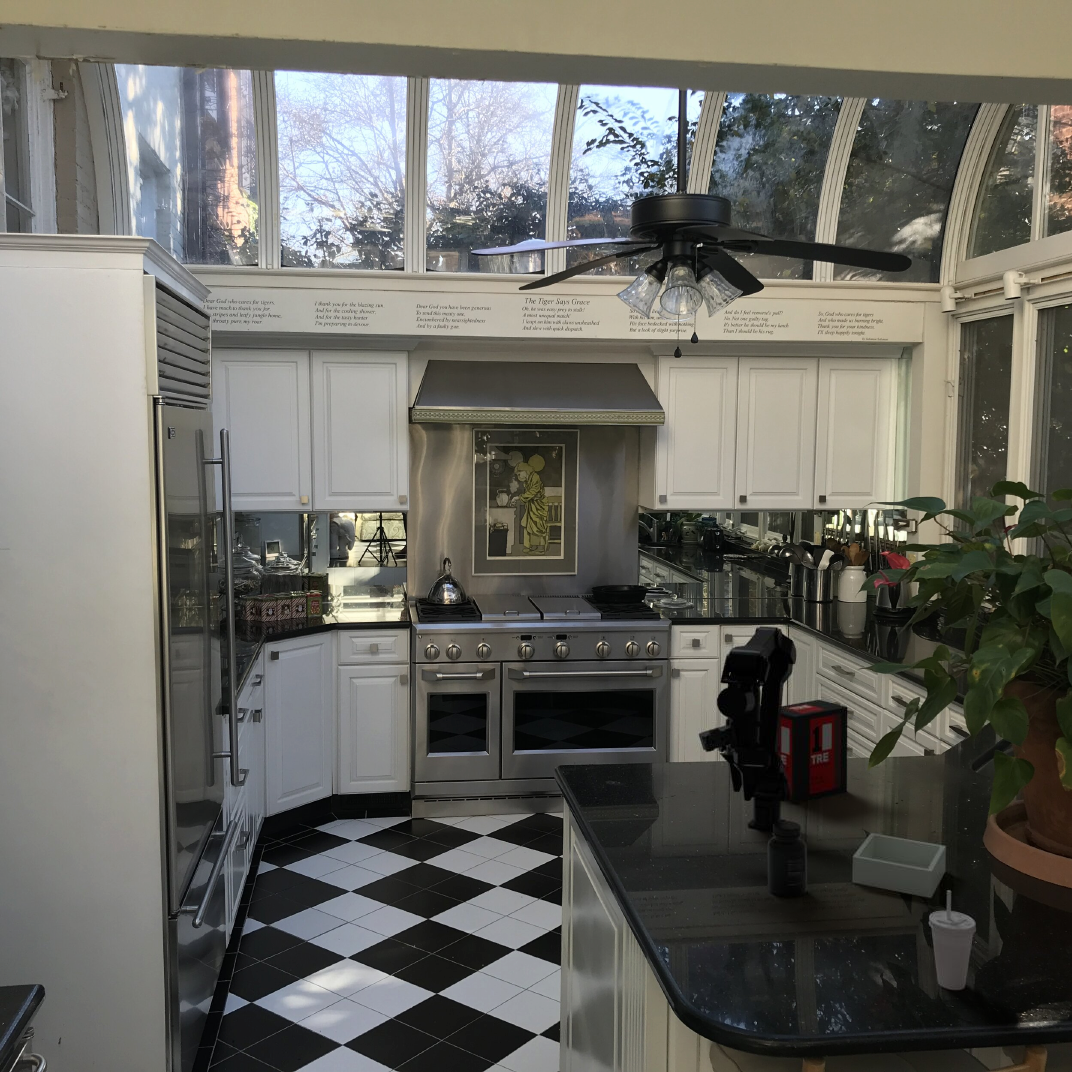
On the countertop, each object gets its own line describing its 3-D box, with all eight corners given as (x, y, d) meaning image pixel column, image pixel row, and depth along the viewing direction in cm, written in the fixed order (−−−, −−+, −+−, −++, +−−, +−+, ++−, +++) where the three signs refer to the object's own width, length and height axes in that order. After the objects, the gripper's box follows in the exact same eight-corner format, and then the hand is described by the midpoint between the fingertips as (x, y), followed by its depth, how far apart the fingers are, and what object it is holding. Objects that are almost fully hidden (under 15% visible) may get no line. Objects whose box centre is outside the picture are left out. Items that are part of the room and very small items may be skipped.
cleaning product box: (818, 781, 244) (818, 699, 242) (846, 791, 236) (847, 707, 235) (766, 793, 236) (766, 708, 234) (794, 804, 228) (794, 716, 226)
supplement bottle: (808, 885, 184) (808, 820, 184) (805, 900, 178) (805, 833, 177) (769, 880, 187) (769, 816, 186) (765, 895, 180) (765, 829, 179)
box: (870, 857, 197) (871, 833, 196) (945, 871, 190) (945, 846, 189) (852, 882, 185) (852, 856, 185) (931, 898, 178) (931, 871, 178)
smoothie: (920, 974, 152) (921, 882, 151) (961, 971, 153) (962, 880, 152) (940, 996, 146) (942, 901, 145) (983, 993, 146) (985, 899, 145)
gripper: (694, 707, 205) (691, 785, 204) (712, 717, 187) (709, 803, 186) (749, 710, 206) (746, 788, 205) (772, 720, 187) (769, 806, 186)
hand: (741, 796), depth 195 cm, fingers open, 9 cm apart
